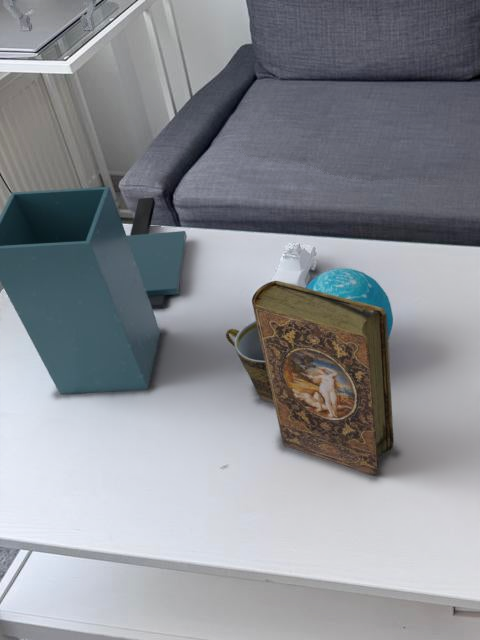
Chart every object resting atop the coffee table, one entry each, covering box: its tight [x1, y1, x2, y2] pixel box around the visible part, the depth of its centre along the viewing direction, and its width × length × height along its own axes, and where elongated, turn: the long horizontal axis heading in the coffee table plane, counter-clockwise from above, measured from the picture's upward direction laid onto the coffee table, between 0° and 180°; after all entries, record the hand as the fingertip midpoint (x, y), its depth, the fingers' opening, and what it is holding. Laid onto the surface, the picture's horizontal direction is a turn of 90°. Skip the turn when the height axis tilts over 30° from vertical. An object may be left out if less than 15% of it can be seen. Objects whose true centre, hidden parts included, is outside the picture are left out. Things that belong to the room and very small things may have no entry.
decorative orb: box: [305, 267, 394, 341], centre depth 115 cm, size 15×15×15 cm
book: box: [251, 280, 395, 476], centre depth 99 cm, size 16×6×25 cm, turn 65°
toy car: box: [270, 241, 318, 288], centre depth 131 cm, size 6×12×7 cm, turn 167°
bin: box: [0, 186, 161, 395], centre depth 112 cm, size 14×14×26 cm
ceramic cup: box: [225, 320, 274, 405], centre depth 113 cm, size 13×10×10 cm
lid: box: [126, 197, 188, 296], centre depth 140 cm, size 31×18×1 cm, turn 4°
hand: (58, 30), depth 114 cm, fingers open, 8 cm apart
